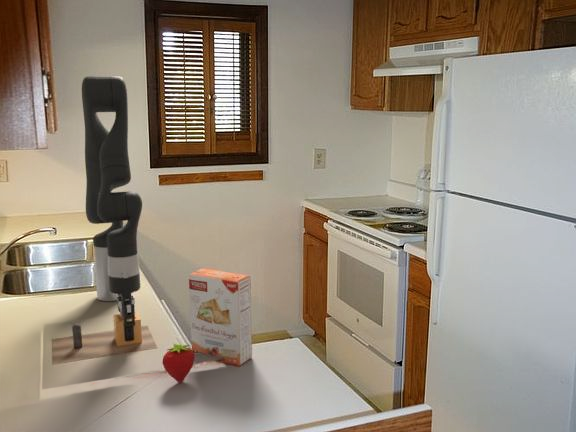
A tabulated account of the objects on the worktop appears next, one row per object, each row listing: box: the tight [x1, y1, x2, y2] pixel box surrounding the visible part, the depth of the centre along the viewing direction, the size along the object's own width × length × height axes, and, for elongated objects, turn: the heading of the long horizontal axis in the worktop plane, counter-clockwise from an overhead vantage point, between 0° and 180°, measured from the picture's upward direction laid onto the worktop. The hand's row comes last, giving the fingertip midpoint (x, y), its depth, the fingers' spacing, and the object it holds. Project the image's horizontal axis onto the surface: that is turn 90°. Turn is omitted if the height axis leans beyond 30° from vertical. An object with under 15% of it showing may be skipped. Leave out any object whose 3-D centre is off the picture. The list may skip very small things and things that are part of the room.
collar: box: [112, 311, 142, 346], centre depth 150 cm, size 6×6×6 cm
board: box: [51, 323, 158, 365], centre depth 148 cm, size 16×24×8 cm, turn 112°
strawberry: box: [162, 339, 196, 383], centre depth 130 cm, size 6×8×10 cm
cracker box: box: [188, 267, 253, 367], centre depth 141 cm, size 14×6×21 cm, turn 62°
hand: (127, 335), depth 150 cm, fingers closed on collar, 6 cm apart
